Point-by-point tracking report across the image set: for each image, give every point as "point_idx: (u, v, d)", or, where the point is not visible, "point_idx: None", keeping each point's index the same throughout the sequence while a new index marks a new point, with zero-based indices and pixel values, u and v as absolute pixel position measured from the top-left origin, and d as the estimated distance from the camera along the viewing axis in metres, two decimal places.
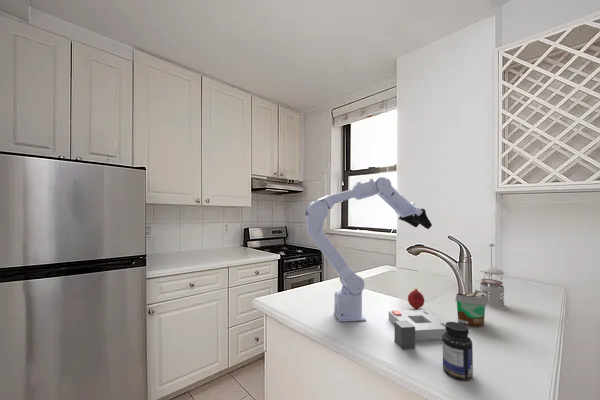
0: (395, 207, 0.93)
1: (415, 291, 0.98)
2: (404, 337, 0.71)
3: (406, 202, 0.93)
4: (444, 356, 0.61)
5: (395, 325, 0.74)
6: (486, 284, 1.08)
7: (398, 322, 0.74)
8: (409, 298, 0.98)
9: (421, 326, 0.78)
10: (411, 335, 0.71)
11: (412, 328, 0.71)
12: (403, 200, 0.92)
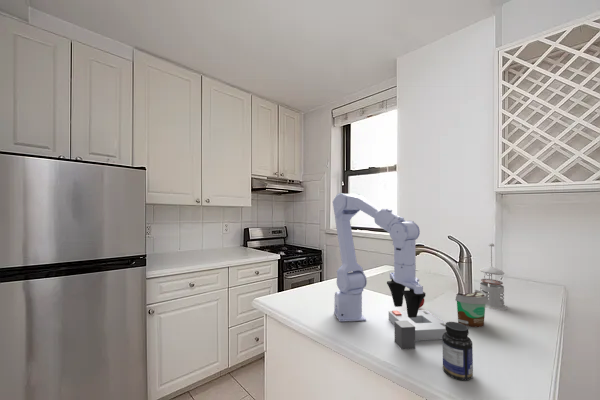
0: (398, 265, 0.72)
1: None
2: (404, 337, 0.71)
3: (413, 271, 0.71)
4: (444, 356, 0.61)
5: (395, 325, 0.74)
6: (486, 284, 1.08)
7: (398, 322, 0.74)
8: None
9: (421, 326, 0.78)
10: (411, 335, 0.71)
11: (412, 328, 0.71)
12: (413, 266, 0.71)
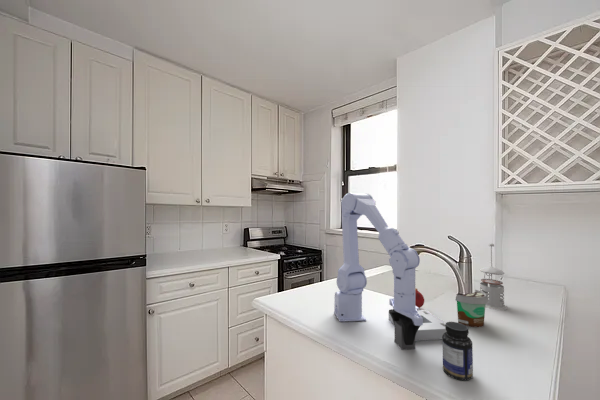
0: (398, 294, 0.72)
1: (415, 291, 0.98)
2: None
3: (413, 300, 0.71)
4: (444, 356, 0.61)
5: (395, 325, 0.74)
6: (486, 284, 1.08)
7: (398, 322, 0.74)
8: None
9: (421, 326, 0.78)
10: None
11: None
12: (412, 295, 0.71)
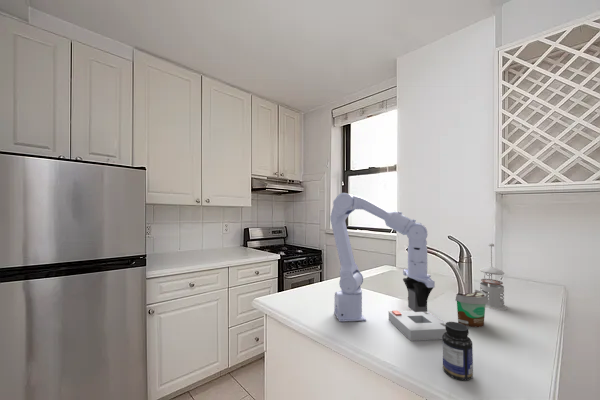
0: (411, 262, 0.81)
1: None
2: None
3: (425, 268, 0.80)
4: (444, 356, 0.61)
5: (409, 292, 0.83)
6: (486, 284, 1.08)
7: (411, 289, 0.83)
8: None
9: (421, 326, 0.78)
10: None
11: None
12: (425, 263, 0.80)
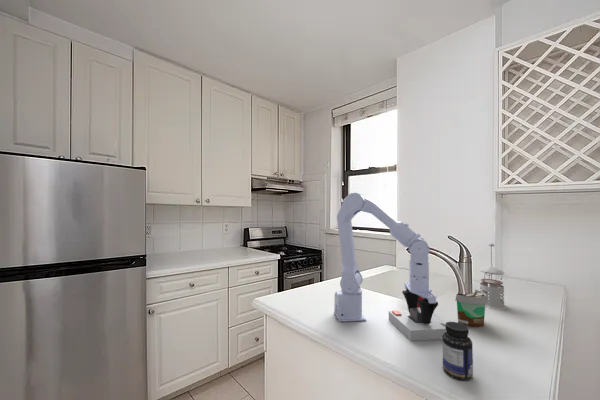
0: (413, 277, 0.82)
1: None
2: (419, 321, 0.81)
3: (427, 283, 0.81)
4: (444, 356, 0.61)
5: (410, 311, 0.84)
6: (486, 284, 1.08)
7: (413, 308, 0.84)
8: None
9: (421, 326, 0.78)
10: None
11: None
12: (426, 278, 0.81)
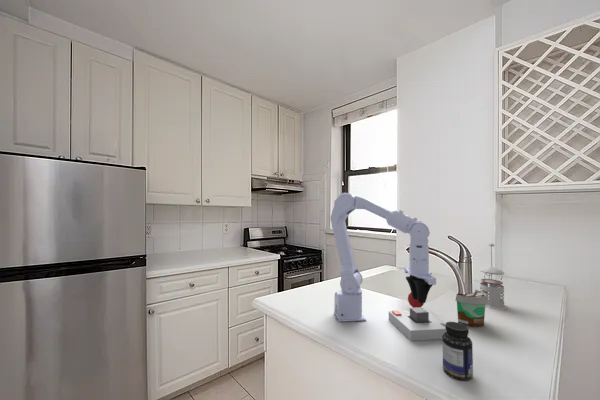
0: (413, 260, 0.82)
1: None
2: (418, 321, 0.81)
3: (427, 265, 0.81)
4: (444, 356, 0.61)
5: (410, 311, 0.84)
6: (486, 284, 1.08)
7: (413, 308, 0.84)
8: (409, 298, 0.98)
9: (421, 326, 0.78)
10: (425, 319, 0.81)
11: (426, 314, 0.81)
12: (426, 261, 0.81)
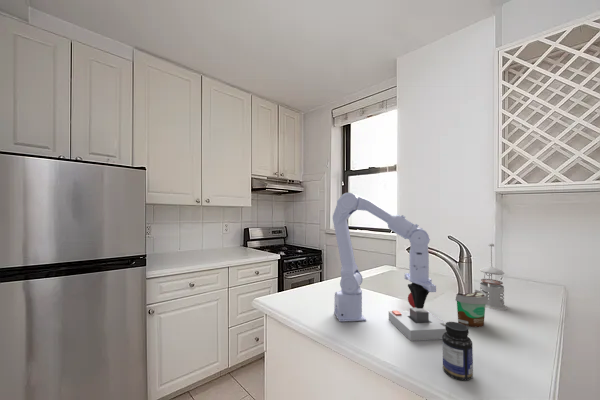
0: (413, 267, 0.82)
1: None
2: (418, 321, 0.81)
3: (427, 272, 0.81)
4: (444, 356, 0.61)
5: (410, 311, 0.84)
6: (486, 284, 1.08)
7: (413, 308, 0.84)
8: (409, 298, 0.98)
9: (421, 326, 0.78)
10: (425, 319, 0.81)
11: (426, 314, 0.81)
12: (426, 268, 0.81)
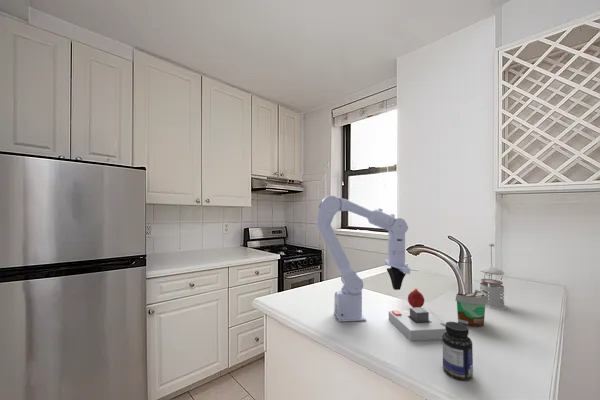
0: (391, 252, 0.91)
1: (415, 291, 0.98)
2: (418, 321, 0.81)
3: (403, 257, 0.90)
4: (444, 356, 0.61)
5: (410, 311, 0.84)
6: (486, 284, 1.08)
7: (413, 308, 0.84)
8: (409, 298, 0.98)
9: (421, 326, 0.78)
10: (425, 319, 0.81)
11: (426, 314, 0.81)
12: (403, 253, 0.90)
